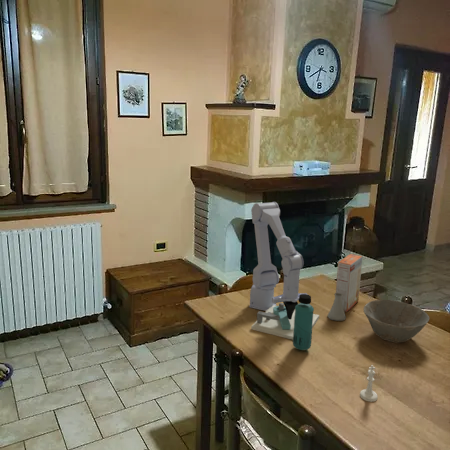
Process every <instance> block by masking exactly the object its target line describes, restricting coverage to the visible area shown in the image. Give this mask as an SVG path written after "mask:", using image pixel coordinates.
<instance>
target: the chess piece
mask: <svg viewBox="0 0 450 450" xmlns="http://www.w3.org/2000/svg"><path fill="white" fill-rule="evenodd" d="M375 370H376V367H375V366H374V365H373V364H371V365H370V366H369V367H368V370H367V374H368V376H367V377H366V381H367V382H368V383H367V386H366V389H365V388H364V389H362V390H360V392H359V397H360V398H361V399H362V400H364V401H367V402H371V403H372V402H376V401H377V400H378V394H377V392H376V391H374V390H373V382H375V378H374V376H375V375H376V372H375Z"/></svg>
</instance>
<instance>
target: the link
mask: <svg viewBox="0 0 450 450" xmlns="http://www.w3.org/2000/svg"><path fill="white" fill-rule="evenodd" d="M273 312H274V314H275V315H278V316H280V319H279V320H280V323H281V326H282V329H291V325H290V322H289V319H288V316H287V311H286V308H285V305H284V311H279V305H276V307H273Z"/></svg>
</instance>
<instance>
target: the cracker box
mask: <svg viewBox="0 0 450 450" xmlns="http://www.w3.org/2000/svg"><path fill="white" fill-rule="evenodd" d="M362 265H363V255H359V254H358V255H357V254H354V253H353V254H352V253H349V254H348V255H346V256H344V258H342V259H341V260H339V261H338V262H337V270H336V271H337V272H336V285H335V286H336V287H335V293H341V294H343V296H342V306H343V310H344V312H345V313H346V312H349V311H350V310H351V309H352V308H353V307H354V306H355V304H357V303H358V302H359V296H360V286H361V277H362V276H361V275H362V267H363V266H362Z"/></svg>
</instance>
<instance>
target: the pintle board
mask: <svg viewBox="0 0 450 450" xmlns="http://www.w3.org/2000/svg"><path fill="white" fill-rule="evenodd" d="M276 306H277V304H276V305H273V306H272V307H270V308H269V309H268V310H267V311H265V312H263V311H261V310H260V311H257V313H256V321H254V323H253V324H252V325H251V329H250V330H254V331H257V332H261V333H265V334H268V335H269V334H270V335H272V336H277V337H280V338H284V339H289V340H292V341H293V335H294V330H293V329H294V320H295V319H294V317H295V310H294V312H293V315H292V319H290V320H289V322H290V325H291V329H282V326H281V323H280V320H279V319H280V316H278V315H275V314H274V312H273V307H276ZM278 306H279V311H284V306H285V305H284V303H283V302H279V303H278ZM319 319H320V314H315V313H313V323H312V328H314V327H315V325H316V323H317V322H318V321H319Z"/></svg>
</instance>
